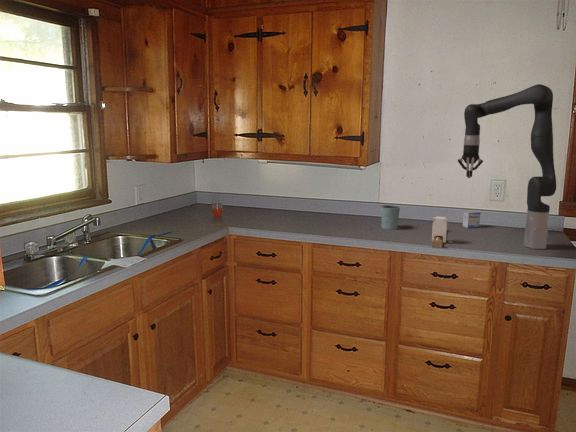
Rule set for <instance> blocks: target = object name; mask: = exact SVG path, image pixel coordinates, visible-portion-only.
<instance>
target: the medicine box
mask: <svg viewBox="0 0 576 432" xmlns="http://www.w3.org/2000/svg"><path fill="white" fill-rule="evenodd" d="M481 214H482V212H480V211H478V210H477V211H475V210H474V211H473V210H472V211H463V218H462V227H463V228H466V229H475V228H476V229H477V228H480V227H481V226H480V223H481Z"/></svg>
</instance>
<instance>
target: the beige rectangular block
mask: <svg viewBox="0 0 576 432" xmlns="http://www.w3.org/2000/svg"><path fill="white" fill-rule="evenodd" d="M447 229H448V217H447V216H433V218H432V229H431V230H432V231H431V241H432V240H436V236H443V238H442V240H443V241H442V244H443V243H444V244H445V243H446V241H447Z"/></svg>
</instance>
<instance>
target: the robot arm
mask: <svg viewBox="0 0 576 432" xmlns="http://www.w3.org/2000/svg"><path fill="white" fill-rule="evenodd" d="M553 101H554V94H553V91H552V89H551V88H550V87H549V86H546V85H544V84H538V83H537V84H534V85H532V86H530V87H527V88H525V89H523V90H521V91H517V92H514V93H512V94H509V95H505V96H501V97H497V98H492V99H489V100H486V101H485V102H482V103H477V104H476V103H475V104H474V103H471V104H468V105H467V106H466V107H465V109H464V113H463V115H464V116H463V117H464V124H465V129H464V130H465V131H464V132H465V133H464V139H463V148H462V149H463V151H462V155H461V157H460V158H458V159H457V162H458V164H459V165H460V167H461V168H462V169H463V170H465V171H466V175H465V176H466V177H467V179H468V178H469V179H471V178H472V177H473V171H476V170H477V169H478V168H479V167H480V166H481V165H482V164H483V162H484V160H483V159H482V158H481V157H480V154H479V153H480V139H481V138H480V135H481V125H480V124H479V122H478V120H479V119H481V118H483V117H486V116H489V115H495V114H498V113H503V112H506V111H508V110H510V109H513V108H515V107H518V106H523V105H533V108H534V122H533V125H532V129H531V132H530V148H531V151H532V154H533V156H534V157H535V158H536V160H537V162H539V163H538V164H540V168H541V175H542V176H532V177H531V178H530V179H529V180H528V182H527V183H528V184H527V190H526V191H527V192H526V205H527V209H526V212H527V213H526V220H525V221H526V222H525V230H524V240H523V246H524V247H526V248H529V249H534V250H535V249H537V250H540V249H541V250H544V249H547V241H548V232H549V229H548V227H549V218H550V208H551V207H550V205H549V204H547V203H544V202H543V201H542V197H553V196H554V195H555V193H556V191H557V178H556V169H555V161H554V160H555V159H554V158H555V157H554V133H553V128H554V127H553V117H552V112H553V104H554V103H553ZM463 162H464V163H465V164H466V166H465V165H464V163H463ZM476 163H477V164H476ZM474 164H476V165H475V166H474Z"/></svg>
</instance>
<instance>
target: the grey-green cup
mask: <svg viewBox="0 0 576 432" xmlns="http://www.w3.org/2000/svg"><path fill="white" fill-rule="evenodd" d="M400 209H401V207H400V206H399V205H394V204H393V205H392V204H384V205H383V204H382V205H381V206H380V210H381V211H380V212H381V229H383V230H388V231H392V230H393V231H394V230H395V231H396V230H397V229H398V227H399V215H400V211H401V210H400Z"/></svg>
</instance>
